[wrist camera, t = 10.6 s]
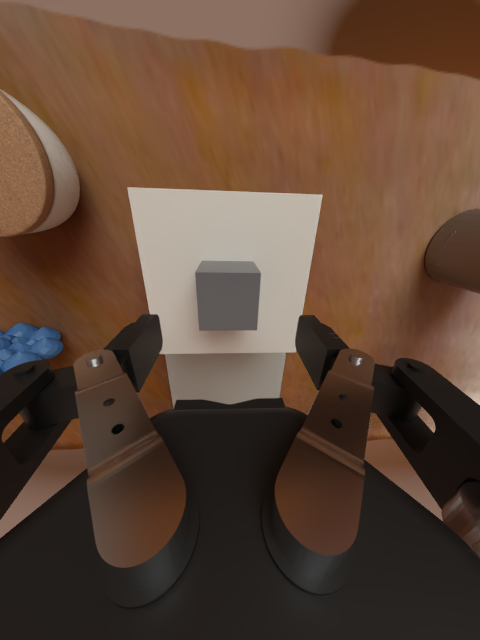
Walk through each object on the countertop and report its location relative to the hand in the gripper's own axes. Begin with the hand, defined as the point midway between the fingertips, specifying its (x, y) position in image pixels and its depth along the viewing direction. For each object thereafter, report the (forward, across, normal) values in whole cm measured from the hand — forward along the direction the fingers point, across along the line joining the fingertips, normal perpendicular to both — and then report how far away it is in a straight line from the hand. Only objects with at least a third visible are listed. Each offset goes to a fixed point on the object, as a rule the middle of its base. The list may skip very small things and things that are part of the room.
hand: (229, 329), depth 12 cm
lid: (+9, 0, 0) cm, 9 cm away
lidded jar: (+17, +19, -9) cm, 27 cm away
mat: (+17, 0, +17) cm, 24 cm away
